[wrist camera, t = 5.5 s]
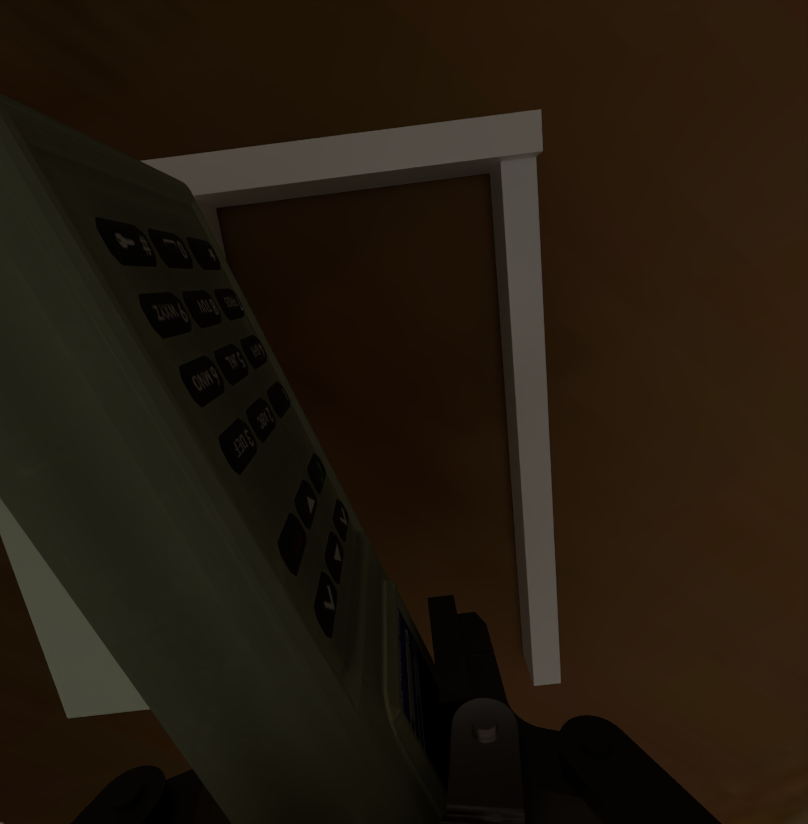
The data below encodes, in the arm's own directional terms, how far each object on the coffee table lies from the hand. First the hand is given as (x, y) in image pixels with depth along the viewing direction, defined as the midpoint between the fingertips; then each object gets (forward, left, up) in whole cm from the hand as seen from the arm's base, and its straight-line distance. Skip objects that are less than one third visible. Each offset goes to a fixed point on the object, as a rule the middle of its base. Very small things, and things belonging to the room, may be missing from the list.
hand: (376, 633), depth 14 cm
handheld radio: (0, 0, -1) cm, 1 cm away
